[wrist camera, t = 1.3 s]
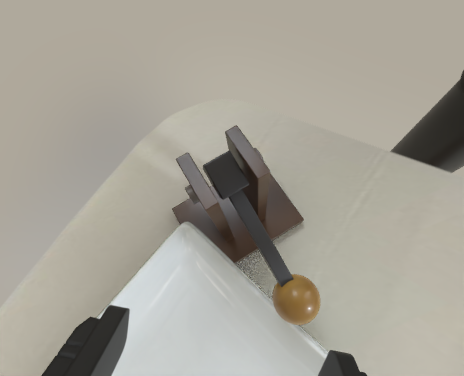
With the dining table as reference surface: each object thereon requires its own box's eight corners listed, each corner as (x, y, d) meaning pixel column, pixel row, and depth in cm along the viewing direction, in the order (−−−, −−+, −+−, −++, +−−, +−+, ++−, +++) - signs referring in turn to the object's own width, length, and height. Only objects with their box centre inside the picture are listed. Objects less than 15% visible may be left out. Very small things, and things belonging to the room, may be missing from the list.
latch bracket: (302, 222, 30) (336, 172, 17) (210, 279, 28) (172, 272, 16) (259, 162, 33) (260, 81, 20) (174, 211, 32) (118, 159, 19)
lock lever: (315, 295, 22) (338, 316, 19) (280, 319, 22) (296, 345, 18) (232, 150, 21) (240, 143, 18) (194, 172, 21) (193, 169, 17)
